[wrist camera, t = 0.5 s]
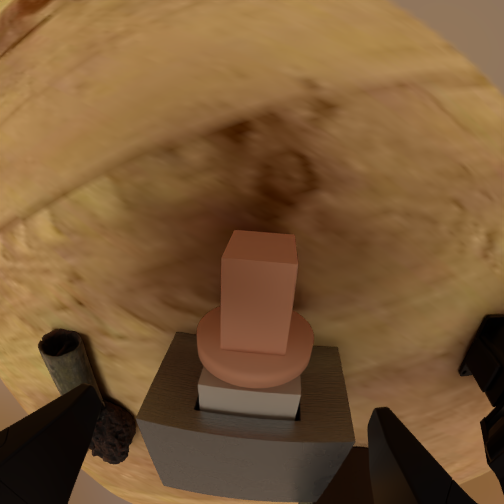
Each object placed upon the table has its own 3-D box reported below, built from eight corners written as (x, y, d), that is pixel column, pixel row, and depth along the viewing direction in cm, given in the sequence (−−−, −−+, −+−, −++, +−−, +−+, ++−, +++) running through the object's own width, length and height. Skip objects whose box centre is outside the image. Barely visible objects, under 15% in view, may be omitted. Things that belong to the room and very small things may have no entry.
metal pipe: (53, 323, 24) (20, 358, 19) (108, 334, 23) (78, 376, 18) (104, 433, 30) (88, 465, 25) (151, 445, 30) (138, 481, 25)
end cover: (321, 230, 17) (341, 281, 11) (289, 404, 23) (288, 469, 17) (210, 220, 18) (175, 266, 12) (212, 397, 23) (197, 459, 17)
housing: (337, 347, 21) (355, 441, 13) (312, 424, 25) (316, 502, 17) (176, 332, 22) (135, 418, 14) (186, 412, 26) (163, 485, 18)
